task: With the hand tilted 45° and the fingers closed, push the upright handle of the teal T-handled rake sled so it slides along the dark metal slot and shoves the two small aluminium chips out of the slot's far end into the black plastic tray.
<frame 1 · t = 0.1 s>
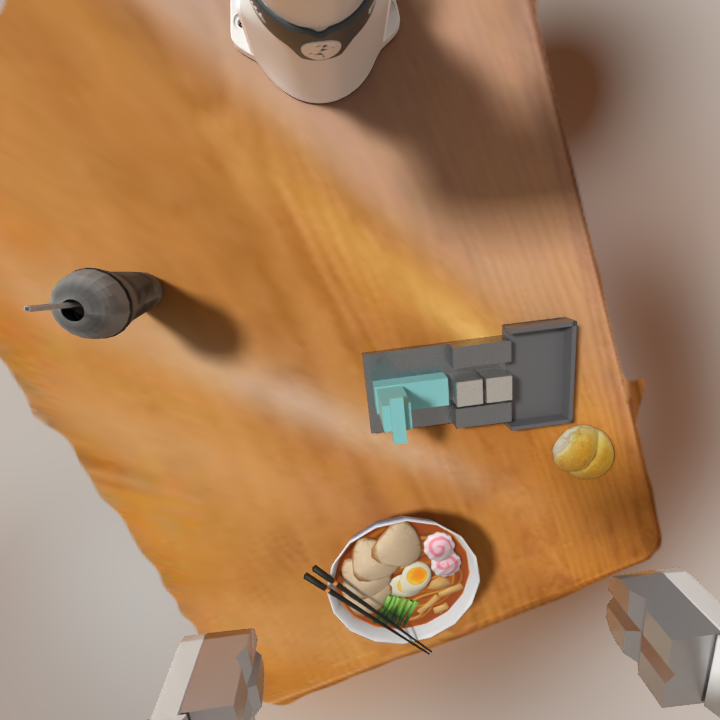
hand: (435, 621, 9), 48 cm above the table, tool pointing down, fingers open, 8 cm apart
beverage cup: (145, 290, 53), on the table
rake tool: (388, 392, 58), point 1 cm above the table, touching slot board
bread roll: (576, 448, 65), on the table
tray: (532, 371, 60), on the table
chip B: (488, 379, 59), point 1 cm above the table, touching slot board
ramen bowl: (396, 548, 68), on the table
slot board: (435, 383, 59), on the table
chip A: (460, 383, 59), point 1 cm above the table, touching slot board
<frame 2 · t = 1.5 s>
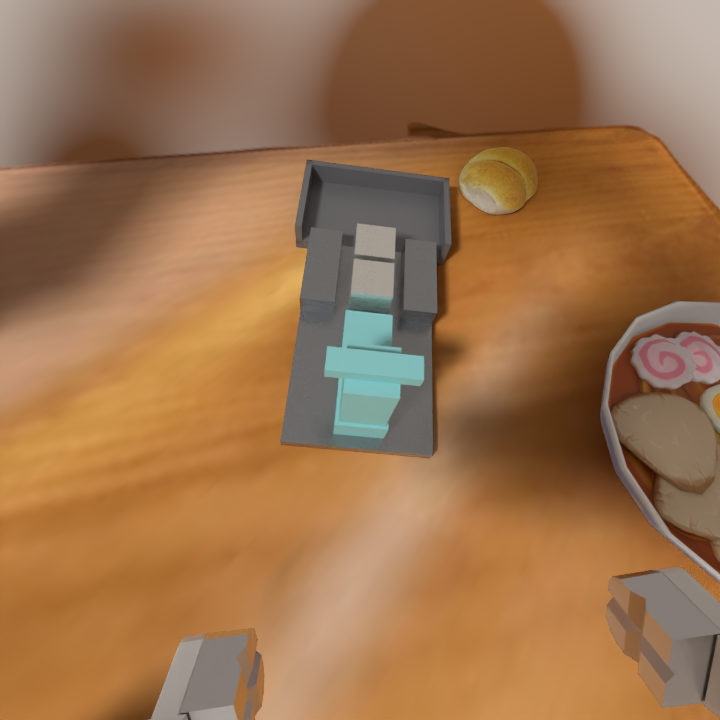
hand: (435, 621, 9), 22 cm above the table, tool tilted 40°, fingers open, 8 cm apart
rake tool: (360, 412, 33), point 1 cm above the table, touching slot board
bread roll: (493, 192, 48), on the table
tray: (372, 222, 44), on the table
chip B: (370, 269, 40), point 1 cm above the table, touching slot board
ramen bowl: (677, 458, 36), on the table
slot board: (364, 342, 37), on the table
chip A: (367, 303, 38), point 1 cm above the table, touching slot board
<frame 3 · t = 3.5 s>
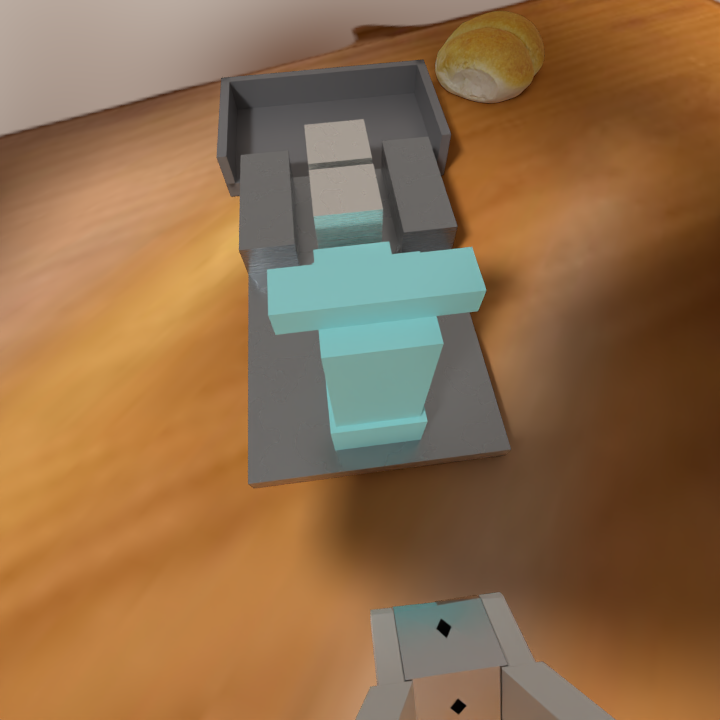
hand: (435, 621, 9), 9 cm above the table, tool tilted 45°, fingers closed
rake tool: (372, 404, 20), point 1 cm above the table, touching slot board
bread roll: (485, 79, 35), on the table
tray: (332, 144, 31), on the table
chip B: (341, 198, 27), point 1 cm above the table, touching slot board
slot board: (355, 300, 24), on the table
chip A: (348, 244, 25), point 1 cm above the table, touching slot board
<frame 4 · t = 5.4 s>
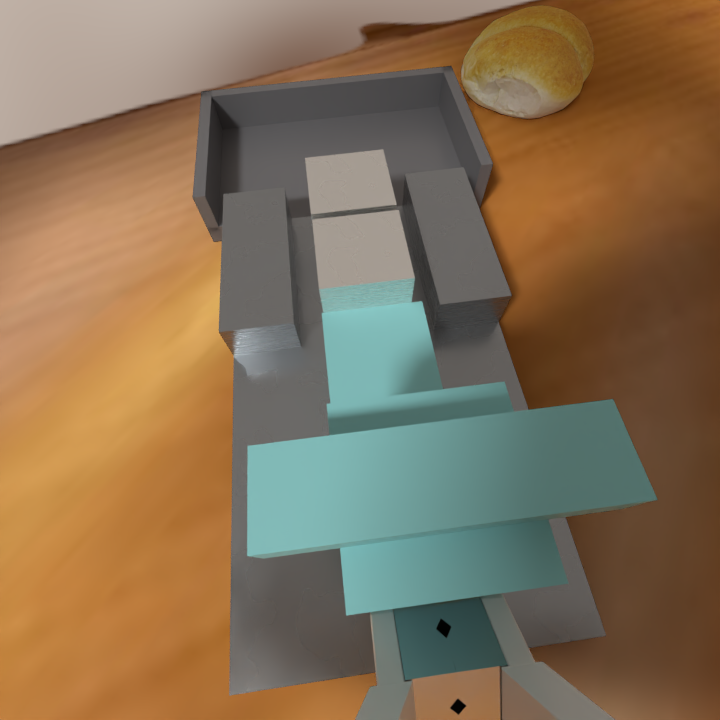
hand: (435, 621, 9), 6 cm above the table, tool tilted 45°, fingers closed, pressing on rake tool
rake tool: (402, 530, 15), point 1 cm above the table, touching chip A, gripper
bread roll: (520, 89, 29), on the table
tray: (339, 172, 25), on the table
chip B: (352, 246, 21), point 1 cm above the table, touching slot board
slot board: (374, 388, 18), on the table
chip A: (363, 307, 19), point 1 cm above the table, touching rake tool, slot board
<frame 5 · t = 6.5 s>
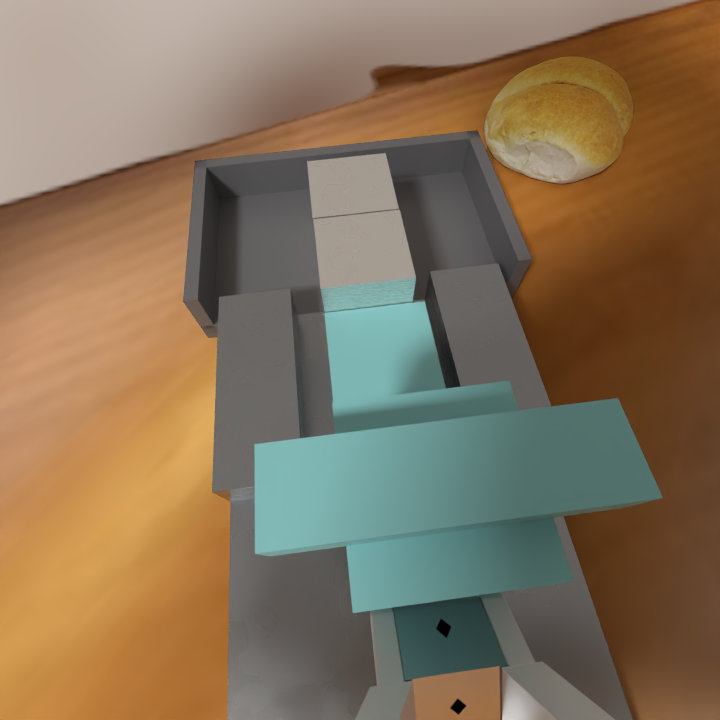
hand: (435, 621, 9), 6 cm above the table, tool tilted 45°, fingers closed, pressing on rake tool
rake tool: (405, 529, 15), point 1 cm above the table, touching gripper, slot board
bread roll: (549, 145, 26), on the table
tray: (350, 249, 22), on the table
chip B: (354, 250, 21), point 1 cm above the table, touching tray
slot board: (397, 538, 16), on the table
chip A: (364, 307, 19), point 1 cm above the table, touching slot board, tray
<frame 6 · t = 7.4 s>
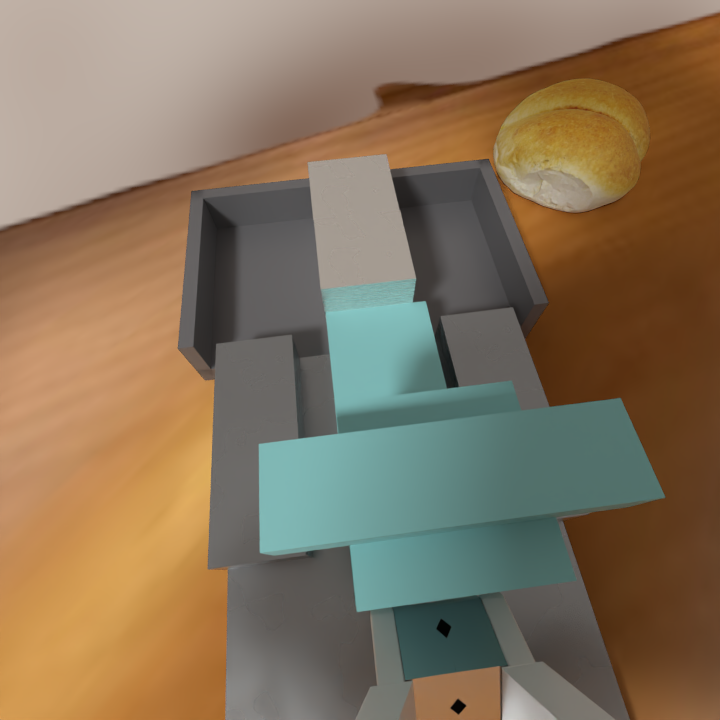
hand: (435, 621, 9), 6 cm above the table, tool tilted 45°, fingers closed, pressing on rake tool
rake tool: (406, 529, 15), point 1 cm above the table, touching chip A, gripper, slot board, tray
bread roll: (560, 170, 25), on the table
tray: (355, 283, 21), on the table
chip B: (354, 251, 21), point 1 cm above the table, touching chip A, tray
slot board: (406, 608, 14), on the table
chip A: (364, 307, 19), point 1 cm above the table, touching chip B, rake tool, tray
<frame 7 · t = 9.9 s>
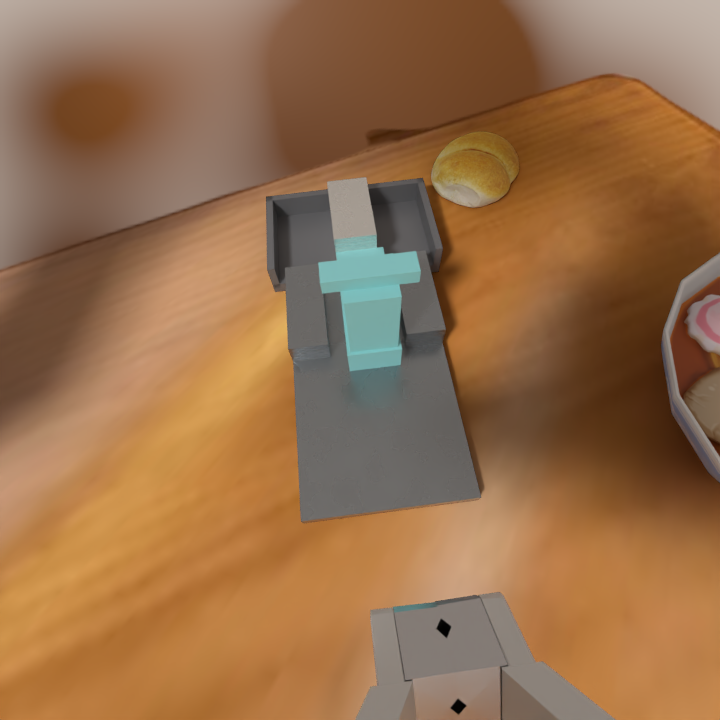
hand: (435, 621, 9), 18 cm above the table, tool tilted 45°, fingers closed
rake tool: (372, 346, 33), point 1 cm above the table, touching slot board, tray
bread roll: (472, 183, 43), on the table
tray: (351, 245, 39), on the table
chip B: (351, 227, 39), point 1 cm above the table, touching chip A, tray
slot board: (371, 379, 33), on the table
chip A: (355, 255, 38), point 1 cm above the table, touching chip B, tray
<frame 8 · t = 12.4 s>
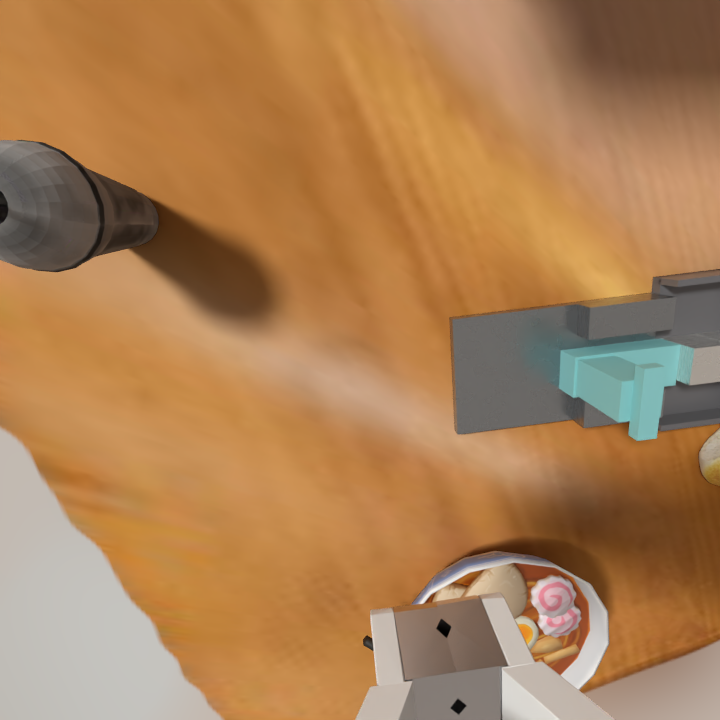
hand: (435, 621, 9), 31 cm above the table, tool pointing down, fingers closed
beverage cup: (132, 217, 35), on the table
rake tool: (579, 367, 41), point 1 cm above the table, touching slot board, tray
tray: (688, 346, 42), on the table
chip B: (709, 348, 41), point 1 cm above the table, touching chip A, tray
ramen bowl: (478, 590, 50), on the table
slot board: (549, 363, 41), on the table
chip A: (675, 353, 41), point 1 cm above the table, touching chip B, tray
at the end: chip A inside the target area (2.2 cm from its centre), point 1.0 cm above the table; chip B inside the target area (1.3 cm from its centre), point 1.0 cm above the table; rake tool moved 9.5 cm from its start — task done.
